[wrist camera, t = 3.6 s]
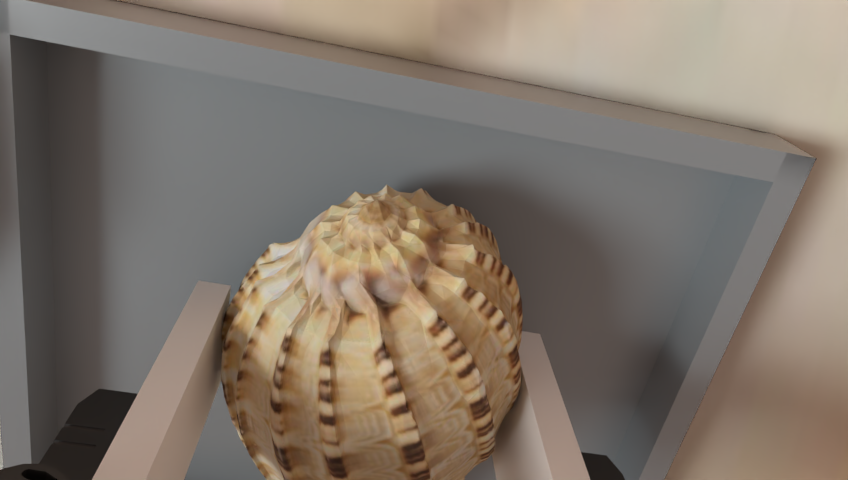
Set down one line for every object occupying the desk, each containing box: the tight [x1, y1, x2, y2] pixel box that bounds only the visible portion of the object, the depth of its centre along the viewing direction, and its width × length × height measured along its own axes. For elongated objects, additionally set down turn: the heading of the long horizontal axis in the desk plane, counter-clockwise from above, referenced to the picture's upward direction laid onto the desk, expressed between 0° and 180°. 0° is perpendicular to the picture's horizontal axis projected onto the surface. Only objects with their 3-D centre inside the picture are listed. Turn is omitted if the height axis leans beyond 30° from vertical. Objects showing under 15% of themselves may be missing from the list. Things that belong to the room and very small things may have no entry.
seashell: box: [221, 184, 523, 480], centre depth 16 cm, size 8×6×10 cm
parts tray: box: [0, 0, 816, 480], centre depth 17 cm, size 17×14×2 cm
